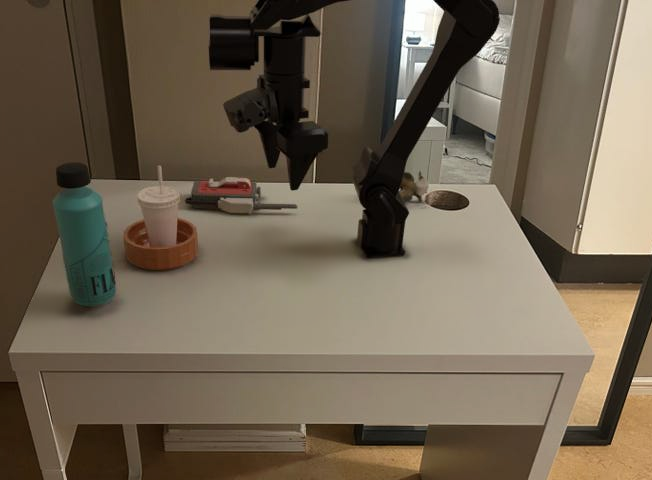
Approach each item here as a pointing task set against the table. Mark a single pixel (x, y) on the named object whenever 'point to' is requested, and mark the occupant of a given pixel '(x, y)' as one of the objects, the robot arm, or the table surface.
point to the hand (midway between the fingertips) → (282, 178)
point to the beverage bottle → (83, 237)
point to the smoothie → (160, 213)
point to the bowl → (160, 256)
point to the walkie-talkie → (230, 196)
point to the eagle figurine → (413, 187)
